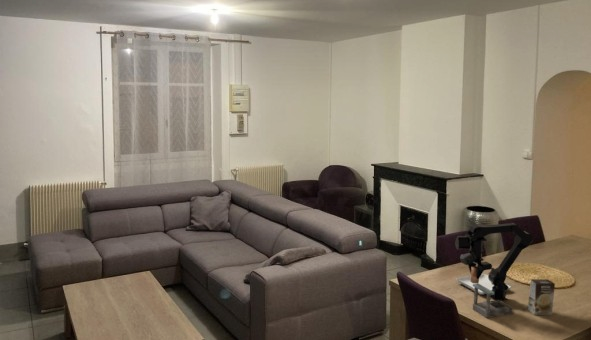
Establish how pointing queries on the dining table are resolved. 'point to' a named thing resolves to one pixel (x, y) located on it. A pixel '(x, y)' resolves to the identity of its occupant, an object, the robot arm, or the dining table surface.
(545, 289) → the coffee box
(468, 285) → the salad plate
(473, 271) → the peg
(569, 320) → the dining table surface
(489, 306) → the socket block
